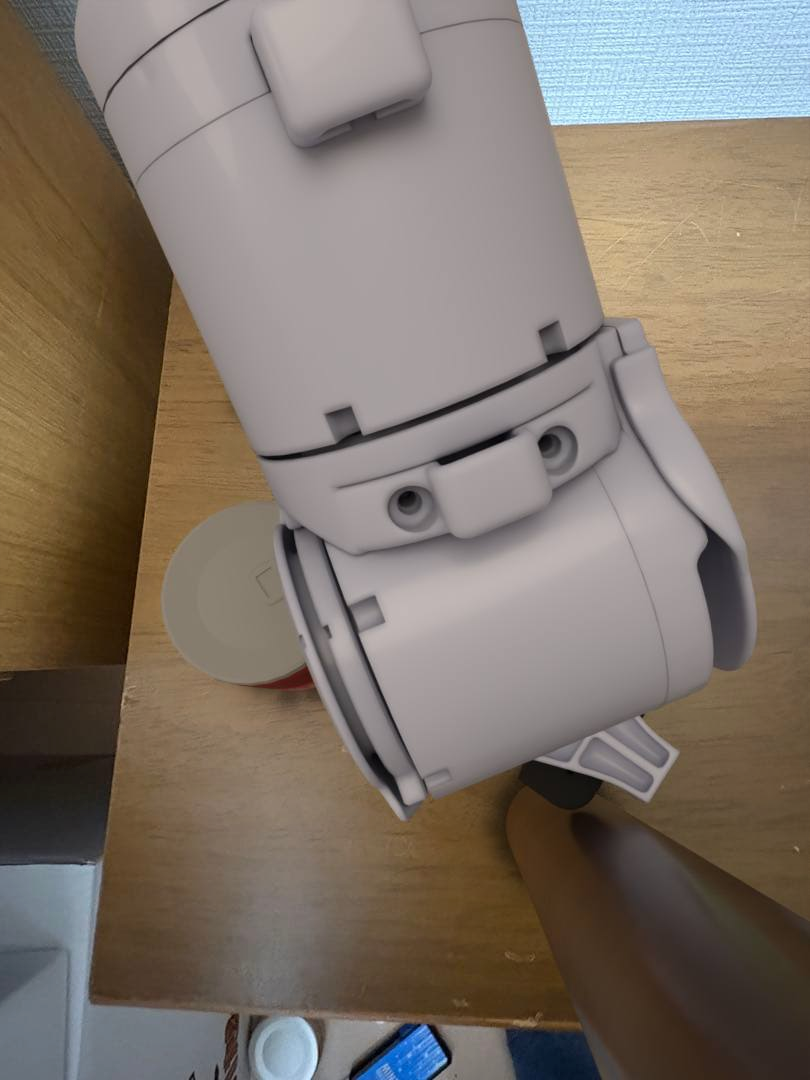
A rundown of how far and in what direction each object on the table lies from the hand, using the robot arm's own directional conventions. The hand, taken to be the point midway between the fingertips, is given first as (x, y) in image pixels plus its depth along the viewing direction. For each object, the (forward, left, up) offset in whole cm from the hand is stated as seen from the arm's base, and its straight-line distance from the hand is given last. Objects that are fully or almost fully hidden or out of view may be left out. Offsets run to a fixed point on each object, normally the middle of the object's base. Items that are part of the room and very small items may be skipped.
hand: (472, 664), depth 36 cm
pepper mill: (+8, -4, -7) cm, 11 cm away
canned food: (-9, -3, -7) cm, 12 cm away
